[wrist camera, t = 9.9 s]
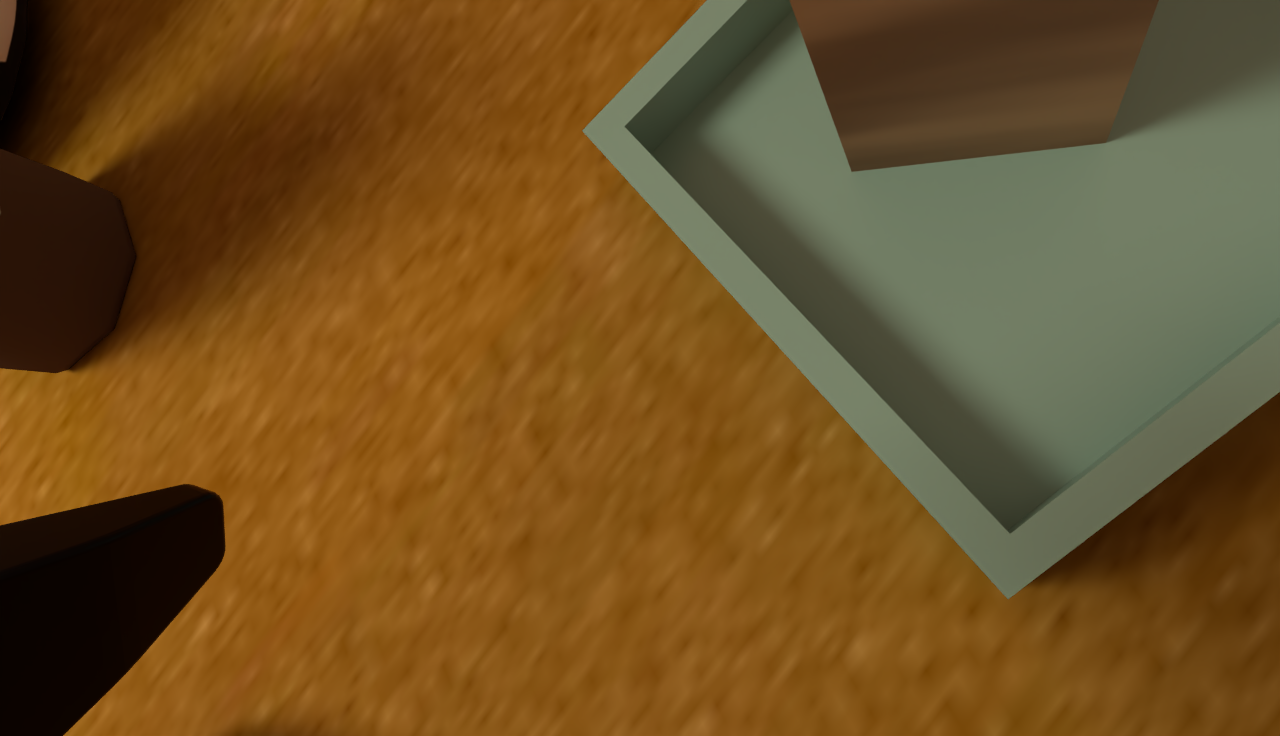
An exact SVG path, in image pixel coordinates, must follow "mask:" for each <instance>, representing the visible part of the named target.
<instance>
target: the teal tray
mask: <svg viewBox="0 0 1280 736" xmlns="http://www.w3.org/2000/svg"><path fill="white" fill-rule="evenodd" d="M582 131H583V132H584V133H585V134H586V135H587V137H588V138H589V139H590V140H591V141H592V142H593V143H594V144H595V145H596V146H597V148H598V149H599V150H600V151H601V152H602V153H603V154H604V155H605V156H606V157H607V159H608V160H609V161H610V162H611V163H612V164H613V165H614V166H615V167H616V168H617V170H618V171H619V172H620V173H621V174H622V175H623V176H624V177H625V178H626V179H627V181H628V182H629V183H630V184H631V185H632V186H633V187H634V188H635V189H636V190H637V192H638V193H639V194H640V195H641V196H642V197H643V198H644V199H645V200H646V201H647V203H648V204H649V205H650V206H651V207H652V208H653V209H654V210H655V211H656V212H657V214H658V215H659V216H660V217H661V218H662V219H663V220H664V221H665V222H666V223H667V225H668V226H669V227H670V228H671V229H672V230H673V231H674V232H675V233H676V234H677V236H678V237H679V238H680V239H681V240H682V241H683V242H684V243H685V244H686V245H687V247H688V248H689V249H690V250H691V251H692V252H693V253H694V254H695V255H696V256H697V258H698V259H699V260H700V261H701V262H702V263H703V264H704V265H705V266H706V267H707V269H708V270H709V271H710V272H711V273H712V274H713V275H714V276H715V277H716V278H717V280H718V281H719V282H720V283H721V284H722V285H723V286H724V287H725V288H726V289H727V291H728V292H729V293H730V294H731V295H732V296H733V297H734V298H735V299H736V300H737V302H738V303H739V304H740V305H741V306H742V307H743V308H744V309H745V310H746V311H747V313H748V314H749V315H750V316H751V317H752V318H753V319H754V320H755V321H756V322H757V324H758V325H759V326H760V327H761V328H762V329H763V330H764V331H765V332H766V333H767V335H768V336H769V337H770V338H771V339H772V340H773V341H774V342H775V343H776V344H777V346H778V347H779V348H780V349H781V350H782V351H783V352H784V353H785V354H786V355H787V357H788V358H789V359H790V360H791V361H792V362H793V363H794V364H795V365H796V366H797V368H798V369H799V370H800V371H801V372H802V373H803V374H804V375H805V376H806V377H807V379H808V380H809V381H810V382H811V383H812V384H813V385H814V386H815V387H816V388H817V390H818V391H819V392H820V393H821V394H822V395H823V396H824V397H825V398H826V399H827V401H828V402H829V403H830V404H831V405H832V406H833V407H834V408H835V409H836V410H837V412H838V413H839V414H840V415H841V416H842V417H843V418H844V419H845V420H846V421H847V423H848V424H849V425H850V426H851V427H852V428H853V429H854V430H855V431H856V432H857V434H858V435H859V436H860V437H861V438H862V439H863V440H864V441H865V442H866V443H867V445H868V446H869V447H870V448H871V449H872V450H873V451H874V452H875V453H876V454H877V456H878V457H879V458H880V459H881V460H882V461H883V462H884V463H885V464H886V465H887V467H888V468H889V469H890V470H891V471H892V472H893V473H894V474H895V475H896V476H897V478H898V479H899V480H900V481H901V482H902V483H903V484H904V485H905V486H906V487H907V489H908V490H909V491H910V492H911V493H912V494H913V495H914V496H915V497H916V498H917V500H918V501H919V502H920V503H921V504H922V505H923V506H924V507H925V508H926V509H927V511H928V512H929V513H930V514H931V515H932V516H933V517H934V518H935V519H936V520H937V522H938V523H939V524H940V525H941V526H942V527H943V528H944V529H945V530H946V531H947V533H948V534H949V535H950V536H951V537H952V538H953V539H954V540H955V541H956V542H957V544H958V545H959V546H960V547H961V548H962V549H963V550H964V551H965V552H966V553H967V555H968V556H969V557H970V558H971V559H972V560H973V561H974V562H975V563H976V564H977V566H978V567H979V568H980V569H981V570H982V571H983V572H984V573H985V574H986V575H987V577H988V578H989V579H990V580H991V581H992V582H993V583H994V584H995V585H996V586H997V588H998V589H999V590H1000V591H1001V592H1002V593H1003V594H1004V595H1005V596H1006V597H1007V599H1009V598H1010V597H1012V596H1013V595H1014V594H1016V593H1017V592H1018V591H1020V590H1021V589H1022V588H1023V587H1025V586H1026V585H1027V584H1029V583H1030V582H1031V581H1033V580H1034V579H1035V578H1037V577H1038V576H1039V575H1041V574H1042V573H1043V572H1044V571H1046V570H1047V569H1048V568H1050V567H1051V566H1052V565H1054V564H1055V563H1056V562H1058V561H1059V560H1060V559H1061V558H1063V557H1064V556H1065V555H1067V554H1068V553H1069V552H1071V551H1072V550H1073V549H1075V548H1076V547H1077V546H1079V545H1080V544H1081V543H1082V542H1084V541H1085V540H1086V539H1088V538H1089V537H1090V536H1092V535H1093V534H1094V533H1096V532H1097V531H1098V530H1099V529H1101V528H1102V527H1103V526H1105V525H1106V524H1107V523H1109V522H1110V521H1111V520H1113V519H1114V518H1115V517H1116V516H1118V515H1119V514H1120V513H1122V512H1123V511H1124V510H1126V509H1127V508H1128V507H1130V506H1131V505H1132V504H1134V503H1135V502H1136V501H1137V500H1139V499H1140V498H1141V497H1143V496H1144V495H1145V494H1147V493H1148V492H1149V491H1151V490H1152V489H1153V488H1154V487H1156V486H1157V485H1158V484H1160V483H1161V482H1162V481H1164V480H1165V479H1166V478H1168V477H1169V476H1170V475H1172V474H1173V473H1174V472H1175V471H1177V470H1178V469H1179V468H1181V467H1182V466H1183V465H1185V464H1186V463H1187V462H1189V461H1190V460H1191V459H1192V458H1194V457H1195V456H1196V455H1198V454H1199V453H1200V452H1202V451H1203V450H1204V449H1206V448H1207V447H1208V446H1209V445H1211V444H1212V443H1213V442H1215V441H1216V440H1217V439H1219V438H1220V437H1221V436H1223V435H1224V434H1225V433H1227V432H1228V431H1229V430H1230V429H1232V428H1233V427H1234V426H1236V425H1237V424H1238V423H1240V422H1241V421H1242V420H1244V419H1245V418H1246V417H1247V416H1249V415H1250V414H1251V413H1253V412H1254V411H1255V410H1257V409H1258V408H1259V407H1261V406H1262V405H1263V404H1265V403H1266V402H1267V401H1268V400H1270V399H1271V398H1272V397H1274V396H1275V395H1276V394H1278V393H1279V392H1280V0H1159V1H1158V4H1157V7H1156V9H1155V12H1154V15H1153V18H1152V20H1151V23H1150V26H1149V28H1148V31H1147V34H1146V36H1145V39H1144V42H1143V45H1142V47H1141V50H1140V53H1139V55H1138V58H1137V61H1136V63H1135V66H1134V69H1133V72H1132V74H1131V77H1130V80H1129V82H1128V85H1127V88H1126V90H1125V93H1124V96H1123V99H1122V101H1121V104H1120V107H1119V109H1118V112H1117V115H1116V117H1115V120H1114V123H1113V126H1112V128H1111V131H1110V134H1109V136H1108V139H1107V142H1106V143H1102V144H1094V145H1085V146H1076V147H1067V148H1058V149H1050V150H1041V151H1032V152H1023V153H1014V154H1006V155H997V156H988V157H979V158H970V159H962V160H953V161H944V162H935V163H926V164H917V165H909V166H900V167H891V168H882V169H873V170H865V171H856V172H852V171H851V169H850V166H849V163H848V160H847V158H846V155H845V152H844V149H843V147H842V144H841V141H840V138H839V136H838V133H837V130H836V127H835V125H834V122H833V119H832V116H831V113H830V111H829V108H828V105H827V102H826V100H825V97H824V94H823V91H822V89H821V86H820V83H819V80H818V78H817V75H816V72H815V69H814V67H813V64H812V61H811V58H810V56H809V53H808V50H807V47H806V44H805V42H804V39H803V36H802V33H801V31H800V28H799V25H798V22H797V20H796V17H795V14H794V11H793V9H792V6H791V3H790V0H707V1H706V2H705V3H704V4H703V5H702V6H701V7H700V8H699V9H698V10H697V11H696V12H695V13H694V15H693V16H692V17H691V18H690V19H689V20H688V21H687V22H686V23H685V24H684V25H683V26H682V27H681V28H680V29H679V30H678V31H677V32H676V33H675V34H674V35H673V36H672V37H671V39H670V40H669V41H668V42H667V43H666V44H665V45H664V46H663V47H662V48H661V49H660V50H659V51H658V52H657V53H656V54H655V55H654V56H653V57H652V58H651V59H650V60H649V61H648V63H647V64H646V65H645V66H644V67H643V68H642V69H641V70H640V71H639V72H638V73H637V74H636V75H635V76H634V77H633V78H632V79H631V80H630V81H629V82H628V83H627V84H626V85H625V87H624V88H623V89H622V90H621V91H620V92H619V93H618V94H617V95H616V96H615V97H614V98H613V99H612V100H611V101H610V102H609V103H608V104H607V105H606V106H605V107H604V108H603V109H602V111H601V112H600V113H599V114H598V115H597V116H596V117H595V118H594V119H593V120H592V121H591V122H590V123H589V124H588V125H587V126H586V127H585V128H584V129H583V130H582Z"/></svg>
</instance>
